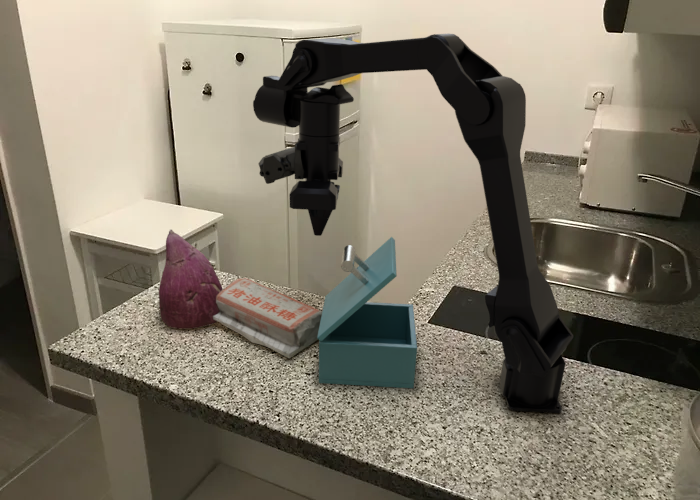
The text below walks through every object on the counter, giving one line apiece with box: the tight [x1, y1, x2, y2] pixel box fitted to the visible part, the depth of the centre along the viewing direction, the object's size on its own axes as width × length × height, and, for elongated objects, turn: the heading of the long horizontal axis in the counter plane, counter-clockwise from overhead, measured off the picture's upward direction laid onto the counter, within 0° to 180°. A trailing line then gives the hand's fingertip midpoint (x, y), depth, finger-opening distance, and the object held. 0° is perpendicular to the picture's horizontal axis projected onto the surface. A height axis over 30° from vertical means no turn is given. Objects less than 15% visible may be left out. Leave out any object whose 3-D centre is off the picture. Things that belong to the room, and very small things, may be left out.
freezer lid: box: [317, 236, 398, 341], centre depth 76 cm, size 13×11×5 cm
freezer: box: [318, 301, 418, 389], centre depth 80 cm, size 12×11×6 cm
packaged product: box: [213, 277, 323, 359], centre depth 88 cm, size 18×5×10 cm
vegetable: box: [158, 229, 224, 330], centre depth 89 cm, size 10×10×15 cm
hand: (318, 234), depth 89 cm, fingers closed
